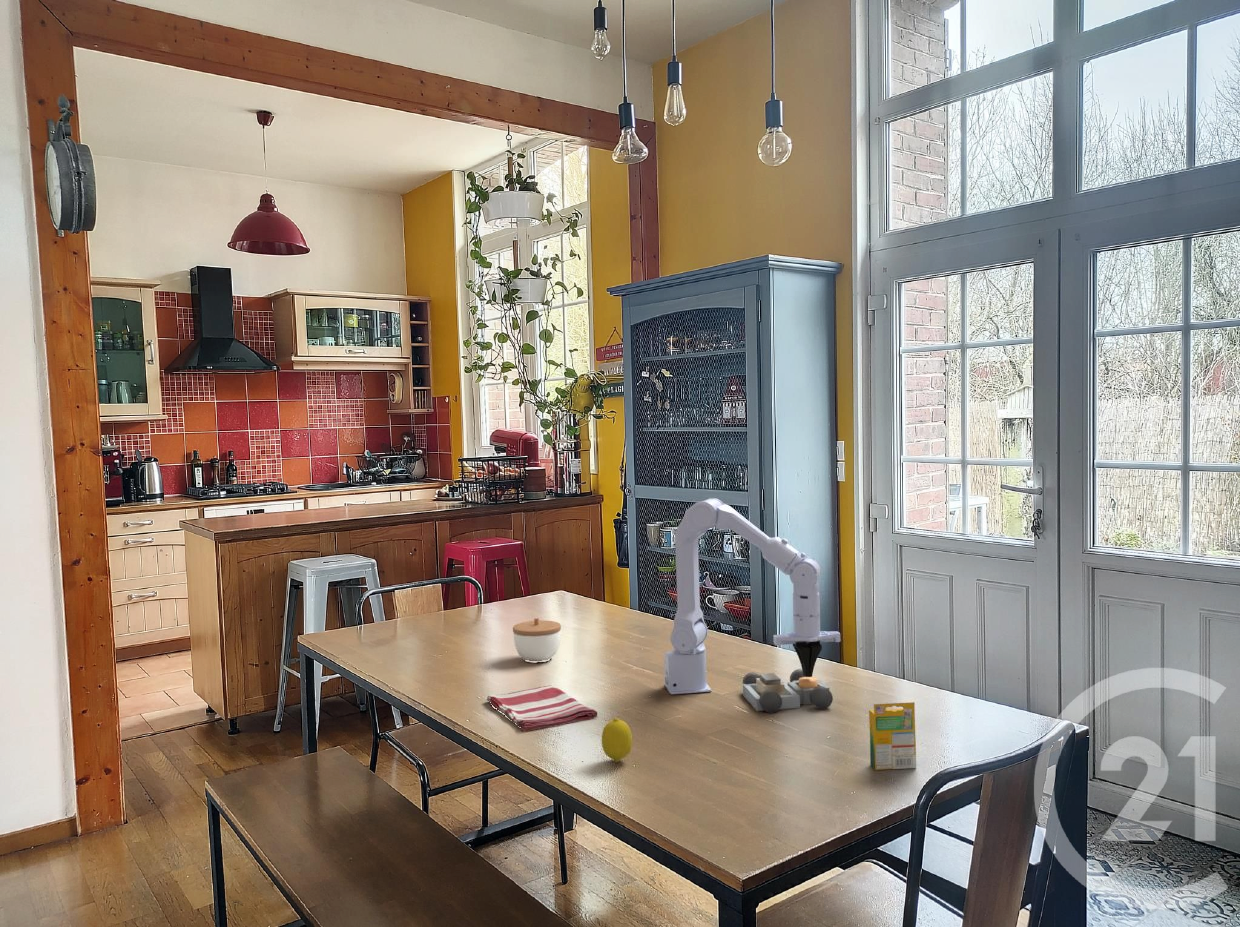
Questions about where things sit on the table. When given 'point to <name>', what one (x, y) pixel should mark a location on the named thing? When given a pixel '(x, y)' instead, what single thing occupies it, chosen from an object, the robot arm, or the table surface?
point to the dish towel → (541, 707)
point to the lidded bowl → (537, 639)
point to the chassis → (786, 694)
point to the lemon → (616, 739)
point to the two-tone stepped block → (769, 684)
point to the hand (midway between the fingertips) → (807, 675)
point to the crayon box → (892, 736)
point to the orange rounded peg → (807, 682)
